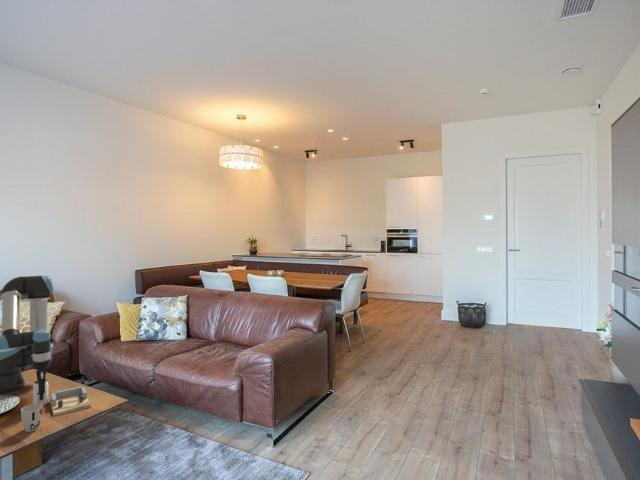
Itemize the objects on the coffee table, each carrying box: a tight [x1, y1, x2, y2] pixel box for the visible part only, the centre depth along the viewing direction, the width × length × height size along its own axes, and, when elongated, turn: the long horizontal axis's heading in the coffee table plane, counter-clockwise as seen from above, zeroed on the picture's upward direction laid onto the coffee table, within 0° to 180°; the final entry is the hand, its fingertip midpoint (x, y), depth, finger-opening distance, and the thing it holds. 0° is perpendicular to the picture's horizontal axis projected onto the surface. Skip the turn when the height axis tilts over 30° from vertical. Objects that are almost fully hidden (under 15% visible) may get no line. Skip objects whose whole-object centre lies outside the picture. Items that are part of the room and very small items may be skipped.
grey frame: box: [50, 385, 88, 405], centre depth 203 cm, size 11×15×3 cm
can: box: [32, 379, 49, 406], centre depth 199 cm, size 6×6×12 cm
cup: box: [20, 403, 44, 433], centre depth 174 cm, size 8×8×10 cm
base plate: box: [49, 393, 92, 417], centre depth 199 cm, size 20×16×4 cm
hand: (40, 403), depth 199 cm, fingers closed on can, 6 cm apart
